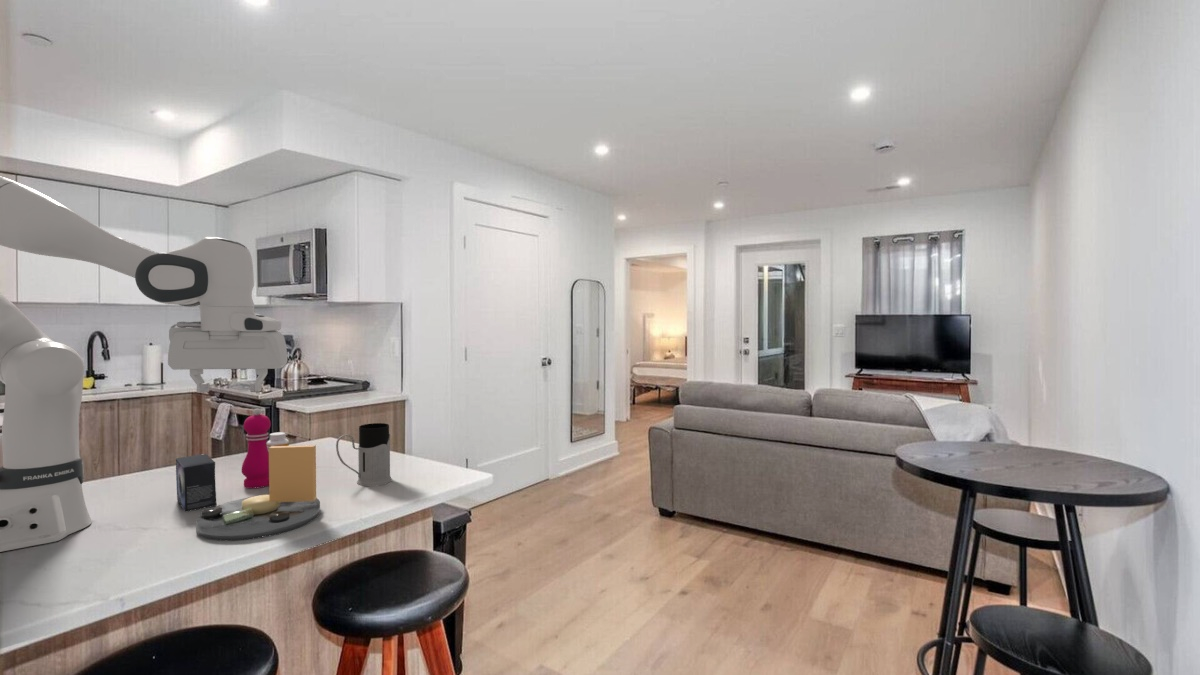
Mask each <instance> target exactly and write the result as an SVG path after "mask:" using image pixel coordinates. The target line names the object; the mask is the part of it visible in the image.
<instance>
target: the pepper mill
mask: <svg viewBox="0 0 1200 675" xmlns="http://www.w3.org/2000/svg"><path fill="white" fill-rule="evenodd" d="M252 413H253V415H250V416H248V417H247V418H246V419H245V420H244V422H243V430H244V431H245V432H246V433H247V434H245V436H246V439H245V440H246V441H247V443H248V445H247V447H248V448H247V453H246V455H245V457H244V460H243V462H242V465H241V473H242V475H243V476H244V477H245V478H244V479H243V487H244V488H245V487H246V489H258V488H257V487H261V488H264V487H263V486H265V487H268V486H269V452H268V449H267V442H268V438H269V439H270V433H269V432H268V430H269V429H270V428H271V424H272V423H271V420H270V418H269V417H268V416H267V415H264V414H261V413H262V410H261V409H259V408H255V409H253V411H252ZM267 485H268V486H267ZM255 487H256V488H255Z"/></svg>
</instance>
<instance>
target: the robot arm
mask: <svg viewBox="0 0 1200 675" xmlns="http://www.w3.org/2000/svg"><path fill="white" fill-rule="evenodd" d="M0 246H1V247H6V248H8V249H13V250H16V251H20V252H25V253H29V254H33V255H38V256H39V255H40V256H46V257H47V256H48V257H54V258H60V259H61V258H62V259H67V260H68V259H69V260H75V261H76V260H77V261H82V262H87V263H90V264H94V265H95V264H96V265H98V266H102V267H104V268H107V269H110V270H113V271H116V272H118V273H121V274H123V275H125V276H128V277H130V278H134V279H135V283H136V286H137V288H138V289H139V291H140V292H141V294H142V295H143V296H145V297H147V298H148V299H150V300H152V301H154V302H157V303H160V304H163V305H164V304H166V305H174V306H175V305H179V306H182V307H188V308H189V307H192V308H193V307H197V306H200V307H199V308H200V309H199V310H200V321H177V322H176V323H174V324H172V325H171V326H170V327H169V330H168V340H169V346H168V353H167V365H168V366H169V367H170V368H171V369H172V370H175V371H176V370H181V371H182V370H189V376H190V378H191V379H192V381H193V382H194V383H195V385H196V392H197V393H200V394H201V393H202V394H203V393H205V394H206V393H209V392H210V390H211V388H210V384H211V382H206V381H205V380H204V378H203V376H202V375H203V374H204V370H255V375H258V376H257V377H256V379H255V380H254V382H250V383H249V392H251V393H258V392H259V393H260V392H261V391H262V386H263V384H262V383H263V381H264V380H265V378H266V377H267V375H268V370H271V369H272V370H273V369H274V370H277V369H282V368H284V367H285V366H286V364H287V363H288V349H287V343H286V338H285V336H284V334H282V332H280V330H281V329H282V322H281V320H279V319H276V318H273V317H270V316H265V315H263V314H260V313H256V312H255V302H254V300H253V290H254V285H255V284H254V283H255V281H254V277H255V276H254V267H253V266H254V265H253V258H252V254H251V252H250V250H249V249H248V248H247V246H246V245H244V244H242V243H240V242H238V241H235V240H232V239H227V238H223V237H219V236H218V237H217V236H206V237H204V238H201V239H200V240H199V241H197V242H195V243H193V244H190V245H187V246H185V247H182V248H179V249H174V250H170V251H164V252H157V251H154V250H151V249H150V248H146V247H144V246H142V245H139V244H136V243H134V242H131V241H129V240H126V239H124V238H122V237H120V236H118V235H115V234H113V233H111V232H109V231H106V230H105V229H103V228H102V227H100V226H99V225H97V224H94V223H93V222H91V221H89V220H88V219H86V218H85V217H83V216H81V215H80V214H78V213H76V212H75V211H73V209H72V210H71V209H70V208H68V207H67V206H65V205H63V204H61V203H60V202H58V201H57V200H55V199H53V198H51V197H50V196H47V195H46V194H43V193H42V192H40V191H38V190H36V189H34V188H32V187H29V186H27V185H24V184H22V183H20V182H17V181H15V180H12V179H10V178H7V177H5V176H2V175H0ZM84 374H85V364H84V360H83V358H82V356H81V355H80V354H79V353H78V351H76V350H75V349H74V348H73V347H71V346H69V345H66V344H65V343H61V342H57V341H54V340H53V339H52V338H50V337H49V336H48V335H47V334H46V333H44V331H42V330H41V329H40V328H39V327H38V326H37V325H36V324H35V323H34V322H33V321H32V320H31V319H29V318H28V316H26V314H24V312H23V311H22V310H20V309H19V308H18V306H16V304H14V303H13V302H12V301H11V300H9V298H7V297H6V296H4V294H2V293H1V292H0V382H1V383H2V384H4V385H5V386H4V389H5V391H4V409H3V417H2V418H3V419H2V425H1V441H2V442H1V443H2V446H1V447H2V466H1V467H0V553H2V552H6V551H11V550H17V549H18V550H19V549H23V548H28V547H29V548H30V547H32V546H39V545H44V544H49V543H55V542H58V541H61V540H62V539H65V538H66V537H67V536H69V535H71V534H73V533H77V532H79V531H81V530H82V529H84V528H87V527H88V526H90V525H91V524H92V522H93V520H92V518H91V516H90V514H89V511H88V508H87V504H86V501H85V496H84V492H83V483H84V477H85V474H84V471H85V469H84V461H83V458H82V457H81V456H80V430H79V429H80V426H79V425H80V412H81V406H82V398H83V389H84V388H83V387H84Z"/></svg>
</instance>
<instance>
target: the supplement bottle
mask: <svg viewBox="0 0 1200 675" xmlns="http://www.w3.org/2000/svg"><path fill="white" fill-rule="evenodd" d="M289 442H290V441H289V439H287V437H286V432H284V431H283V432H282V431H281V432H280V431H278V432H277V431H276V432H272V433H269V440H267V449H268V452H269V448H270V447H271V446H290V443H289Z"/></svg>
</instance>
